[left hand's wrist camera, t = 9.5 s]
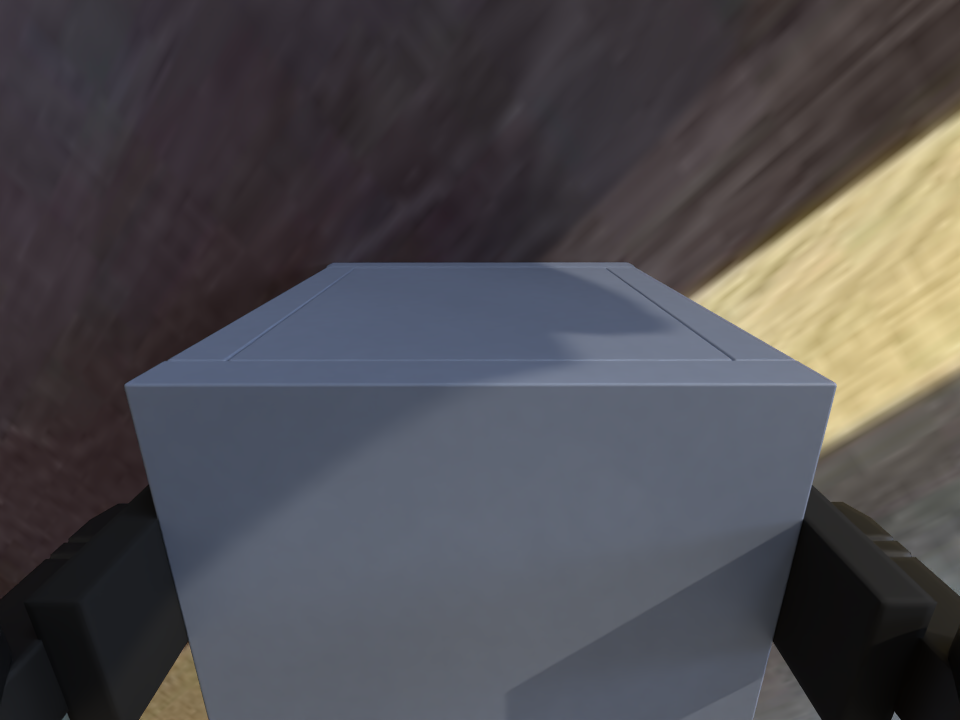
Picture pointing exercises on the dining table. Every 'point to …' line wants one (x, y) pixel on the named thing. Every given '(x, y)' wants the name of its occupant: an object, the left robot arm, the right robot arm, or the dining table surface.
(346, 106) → the dining table surface
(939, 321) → the dining table surface
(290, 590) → the cabinet
